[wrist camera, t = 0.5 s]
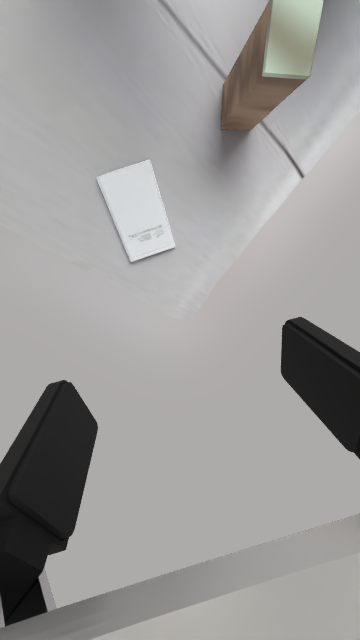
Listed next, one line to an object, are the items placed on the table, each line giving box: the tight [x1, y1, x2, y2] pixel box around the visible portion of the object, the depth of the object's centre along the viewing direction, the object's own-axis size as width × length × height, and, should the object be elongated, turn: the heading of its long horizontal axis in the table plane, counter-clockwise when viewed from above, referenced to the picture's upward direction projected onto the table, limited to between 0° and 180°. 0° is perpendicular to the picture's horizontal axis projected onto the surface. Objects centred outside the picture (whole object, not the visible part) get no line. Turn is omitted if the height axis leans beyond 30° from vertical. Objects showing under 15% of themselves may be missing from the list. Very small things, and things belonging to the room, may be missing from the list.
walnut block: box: [221, 0, 324, 130], centre depth 23 cm, size 4×4×12 cm
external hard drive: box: [96, 159, 175, 262], centre depth 32 cm, size 2×8×12 cm
